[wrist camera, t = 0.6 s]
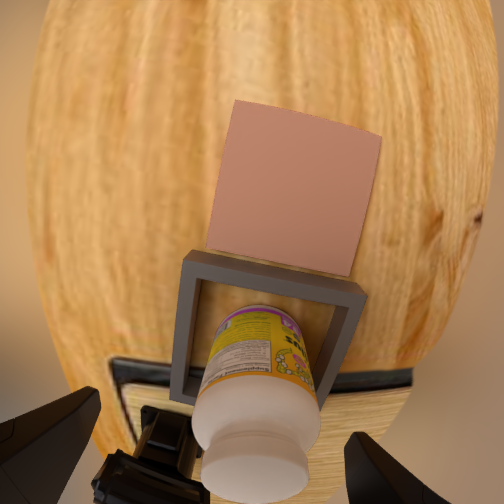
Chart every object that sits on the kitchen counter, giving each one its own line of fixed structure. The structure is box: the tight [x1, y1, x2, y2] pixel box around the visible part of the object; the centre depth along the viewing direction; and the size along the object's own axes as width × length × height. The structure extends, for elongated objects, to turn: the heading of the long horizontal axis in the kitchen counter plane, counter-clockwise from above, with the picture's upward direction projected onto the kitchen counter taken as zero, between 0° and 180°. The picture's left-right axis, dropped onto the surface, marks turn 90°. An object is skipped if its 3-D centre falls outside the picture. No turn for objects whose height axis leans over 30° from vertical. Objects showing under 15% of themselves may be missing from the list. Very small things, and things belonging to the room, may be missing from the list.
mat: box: [206, 100, 382, 277], centre depth 19 cm, size 10×10×1 cm
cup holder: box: [169, 250, 367, 412], centre depth 21 cm, size 12×12×2 cm
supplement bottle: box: [192, 305, 321, 504], centre depth 16 cm, size 7×7×13 cm
